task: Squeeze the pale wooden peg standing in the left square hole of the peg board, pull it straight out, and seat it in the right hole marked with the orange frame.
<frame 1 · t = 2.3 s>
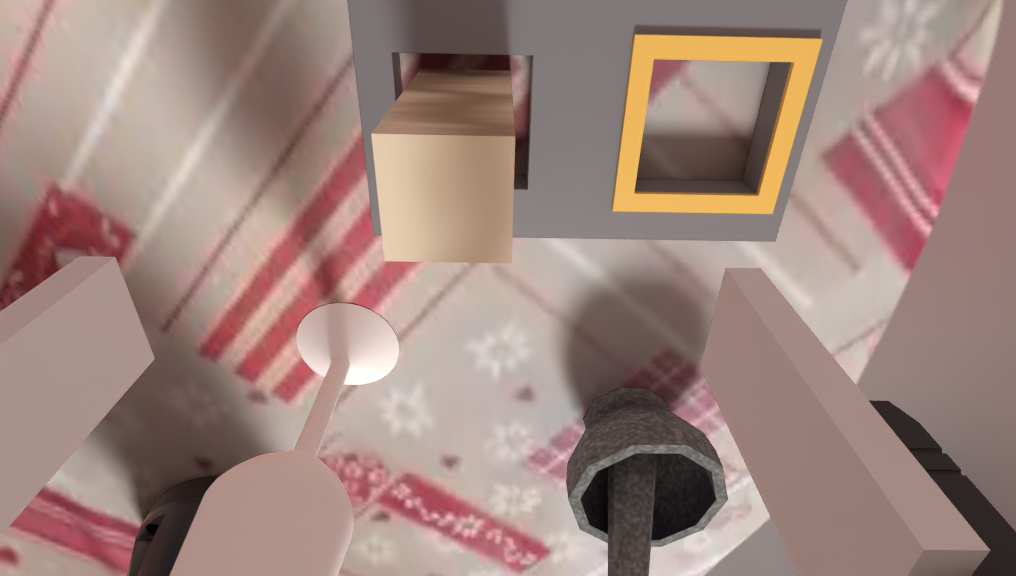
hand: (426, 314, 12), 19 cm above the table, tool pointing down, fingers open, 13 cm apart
champagne flute: (348, 344, 36), on the table
wooden peg: (466, 115, 29), resting in peg board
peg board: (581, 117, 29), on the table
mortar and pestle: (622, 424, 40), on the table
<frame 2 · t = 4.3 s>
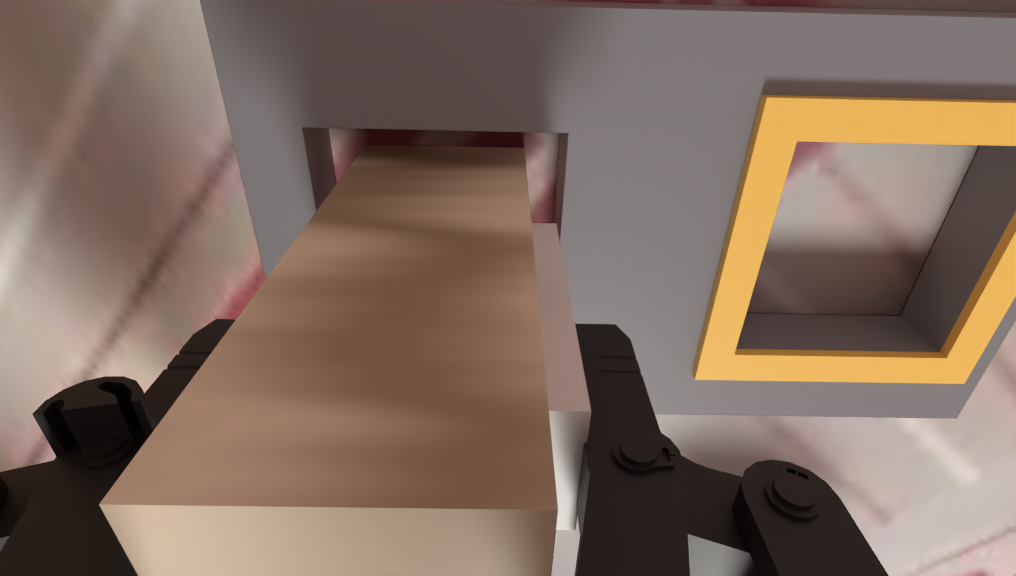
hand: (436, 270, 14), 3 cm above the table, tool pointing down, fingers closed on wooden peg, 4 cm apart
wooden peg: (447, 218, 17), resting in peg board, touching gripper
peg board: (643, 223, 17), on the table
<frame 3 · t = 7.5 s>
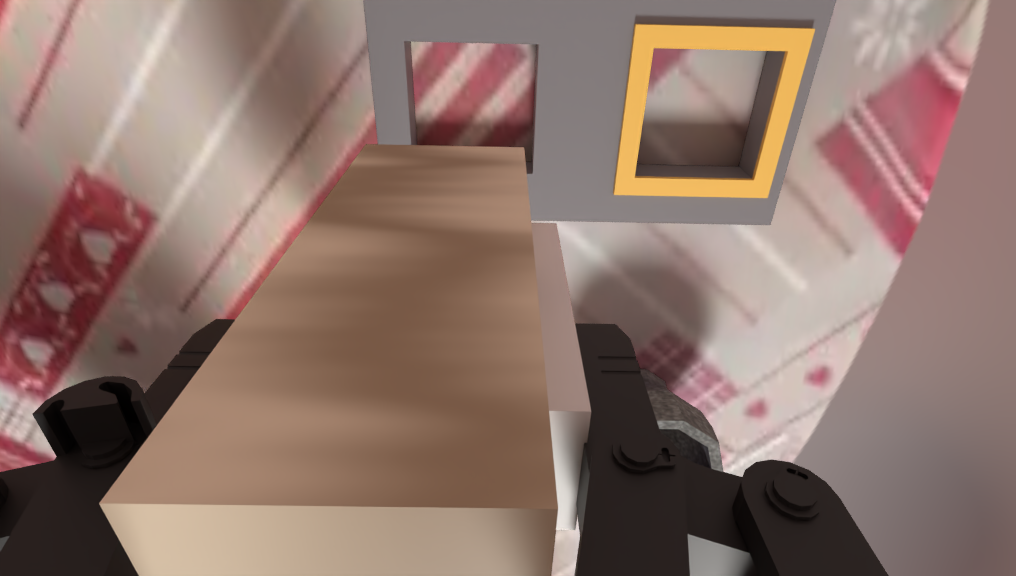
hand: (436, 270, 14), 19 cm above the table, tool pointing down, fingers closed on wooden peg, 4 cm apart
wooden peg: (447, 218, 17), point 15 cm above the table, touching gripper
peg board: (584, 105, 30), on the table
mortar and pestle: (622, 404, 42), on the table
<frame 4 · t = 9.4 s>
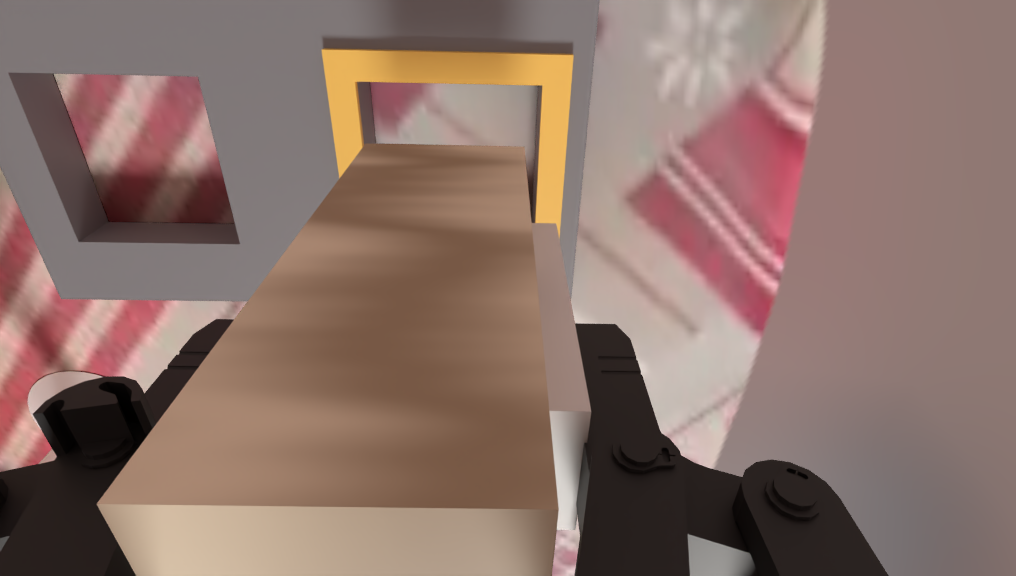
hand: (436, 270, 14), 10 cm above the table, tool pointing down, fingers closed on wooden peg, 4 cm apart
champagne flute: (97, 416, 30), on the table
wooden peg: (447, 218, 17), point 7 cm above the table, touching gripper
peg board: (309, 152, 23), on the table
when the fingers open (4 cm above the table, at t = 10.8 s): wooden peg stays where it is, resting in peg board.
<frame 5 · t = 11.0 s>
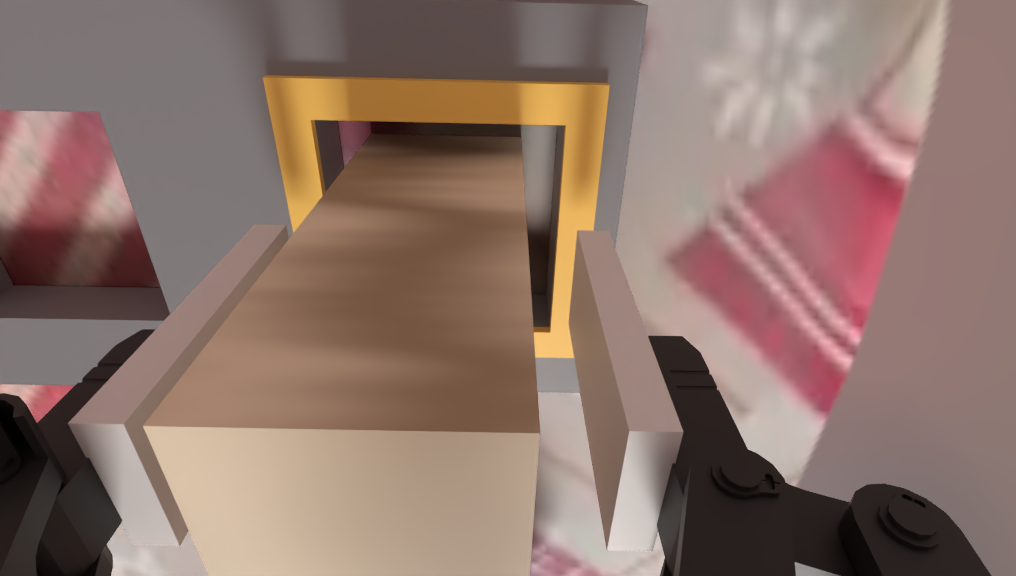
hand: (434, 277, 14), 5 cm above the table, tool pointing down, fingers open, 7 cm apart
wooden peg: (448, 205, 18), resting in peg board
peg board: (262, 202, 18), on the table
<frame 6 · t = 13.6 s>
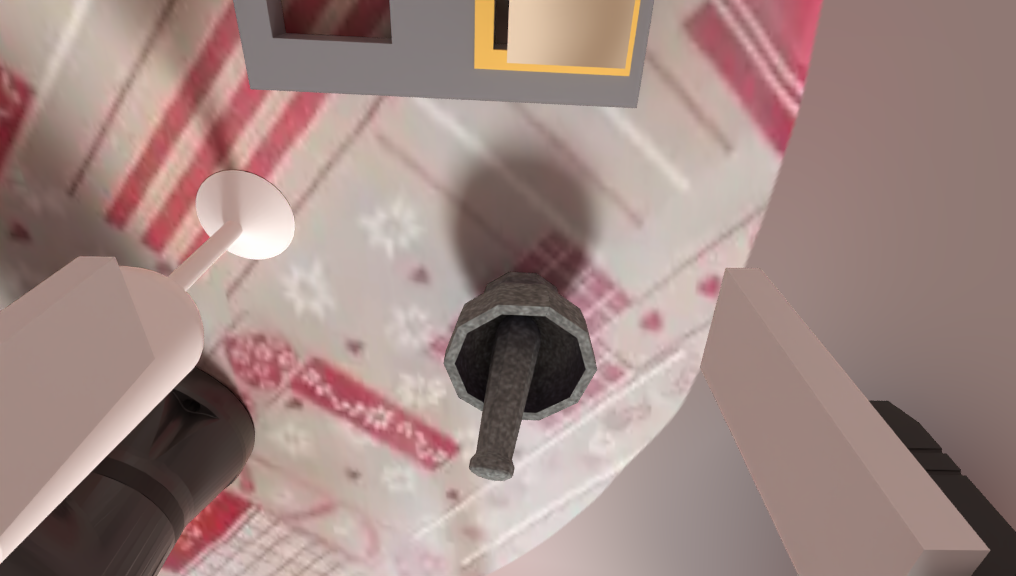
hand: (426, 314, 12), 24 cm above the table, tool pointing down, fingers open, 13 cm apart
champagne flute: (247, 215, 38), on the table
mortar and pestle: (517, 312, 42), on the table
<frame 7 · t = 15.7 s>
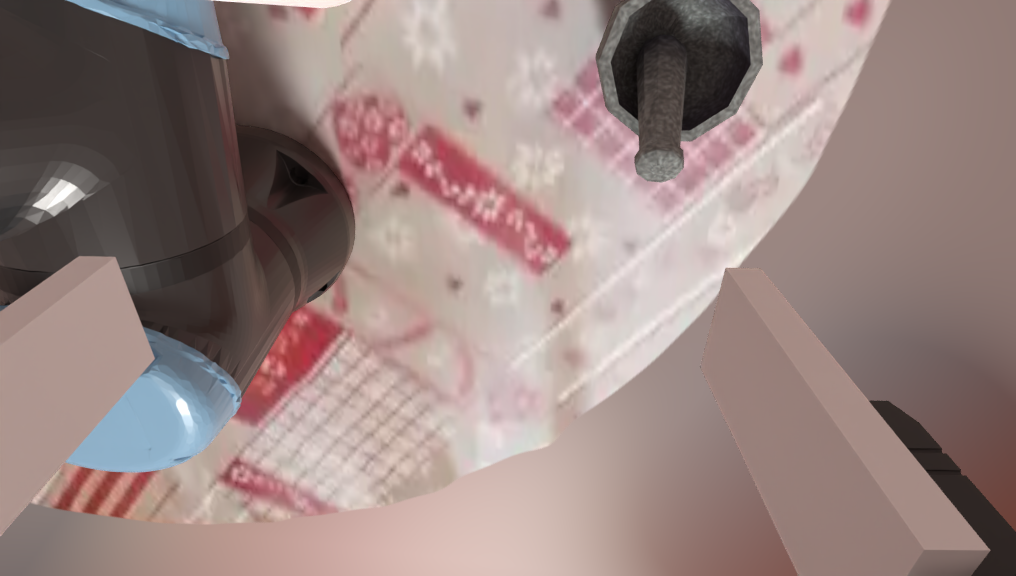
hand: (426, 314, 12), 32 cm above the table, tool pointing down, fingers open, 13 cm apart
mortar and pestle: (649, 56, 39), on the table
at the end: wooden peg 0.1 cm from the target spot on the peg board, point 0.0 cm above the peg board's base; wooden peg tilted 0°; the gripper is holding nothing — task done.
